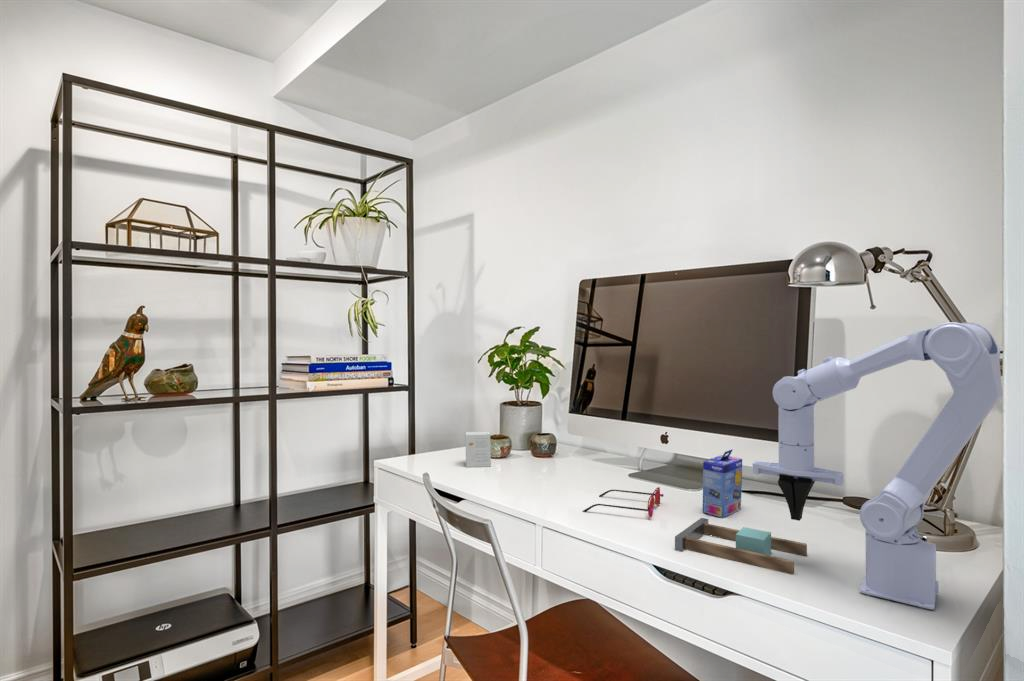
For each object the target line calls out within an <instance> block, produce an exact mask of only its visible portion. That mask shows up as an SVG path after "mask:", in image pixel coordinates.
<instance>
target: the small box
mask: <svg viewBox="0 0 1024 681" xmlns="http://www.w3.org/2000/svg"><path fill="white" fill-rule="evenodd" d="M464 438H465V467H466V468H487V467H492V459H491V458H492V456H491V455H492V454H491V453H492V452H491V450H492V449H491V448H492V447H491V445H492V444H491V433H490V430H487V431H486V430H485V431H480V430H479V431H466V432H465V437H464Z"/></svg>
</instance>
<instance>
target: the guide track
mask: <svg viewBox="0 0 1024 681" xmlns="http://www.w3.org/2000/svg"><path fill="white" fill-rule="evenodd" d="M740 530H741V529H736V528H730V527H726V526H721V525H716V524H709V523H708V524H704V535H705V534H707V535H706V536H710V535H712V536H711V537H714V536H716V538H719V537H720V539H723V540H729V541H734V542H736V534H737V533H738V532H739V531H740ZM687 549H688V551H693V552H696V553H701V554H704V555H709V556H713V557H719V558H722V559H726V560H731V561H734V562H739V563H743V564H747V565H751V566H756V567H761V568H765V569H769V570H774V571H776V572H777V571H778V572H782V573H786V574H790V575H794V573H795V560H791V559H788V558H782V557H778V556H773V555H771V554H770V555H765V554H761V553H756V552H752V551H747V550H743V549H738V548H736V547H733V546H728V545H723V544H720V543H716V542H711V541H706V540H701V539H698V540H697V539H693V538H688V537H687V538H686V539H685V550H687ZM771 550H776V551H781V552H785V553H789V554H794V555H799V556H805V557H806V556H807V555H808V544H807V543H805V542H800V541H796V540H789V539H785V538H780V537H776V536H775V537H774V536H771Z"/></svg>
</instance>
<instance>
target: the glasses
mask: <svg viewBox="0 0 1024 681" xmlns="http://www.w3.org/2000/svg"><path fill="white" fill-rule="evenodd" d="M610 492H621V493H631V494H638V495H639V494H640V495H647V496H648V495H649V498H648V500H647V508H638V507H630V506H622V505H614V504H604V503H595V504H592V505H591V506H588V507H587V508H585V509H583V510H582V511H581V512H582V513H586V512H588V511H589V510H591V509H592V508H594V507H597V506H602V507H608V508H609V507H611V508H619V509H624V510H633V511H644V512H647V513H648V515H649V517H650V518H652V516H653V514H654V513H653V512H654V508H655V505H657V506H660V505H661V497H662V498H663V497H664V494H663V493H661V488H660V486H659V487H656V488H655V490H654V491H653V492H652V493H651V492H641V491H633V490H632V491H631V490H624V489H623V490H621V489H609V490H607V491H605V492H603V493H600V494H599V495H598V496H599V497H600V498H601V497H604V496H605V495H607V494H608V493H610ZM659 504H660V505H659Z"/></svg>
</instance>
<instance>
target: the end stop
mask: <svg viewBox="0 0 1024 681" xmlns="http://www.w3.org/2000/svg"><path fill="white" fill-rule="evenodd" d="M704 524H709V518H705V517H701V518H699V519H698V520H696V521H695V522H694V523H692V524H690V525H689V526H688V527H686V528H685V529H683V530H682V531H681V532H679V533H678V534H677V535H675V536H674V550H675V551H678V550H679V552H684V551H685V550H686V549H685V539H686V538H687V537H688V538H693V539H698V540H700V539H701V538H702V537H703V536H704V535H705V534H704ZM703 534H704V535H703ZM702 535H703V536H702Z"/></svg>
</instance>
